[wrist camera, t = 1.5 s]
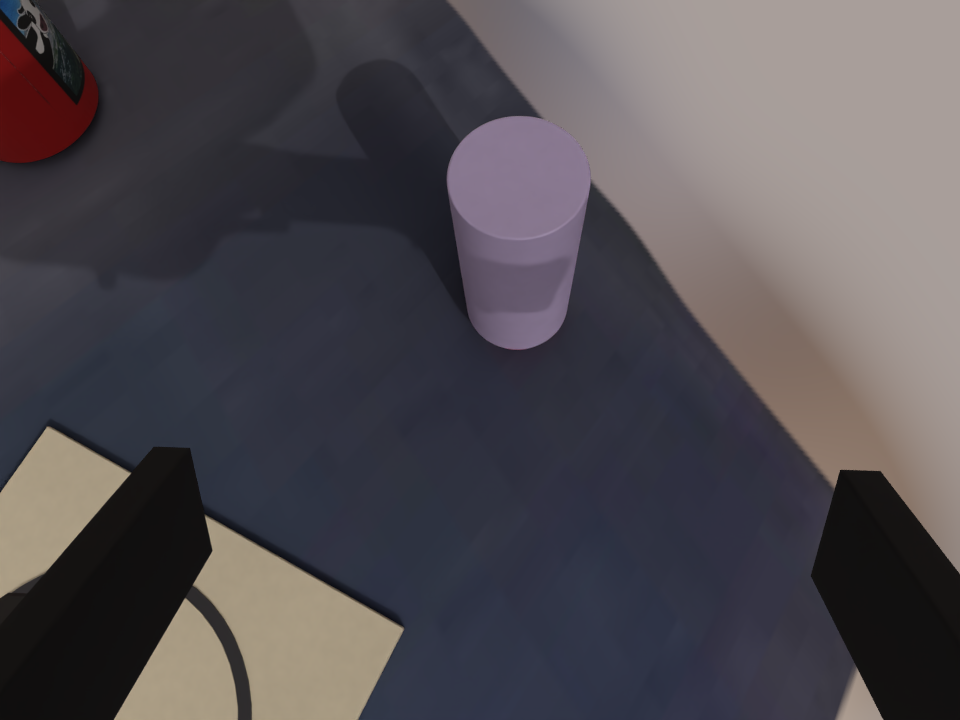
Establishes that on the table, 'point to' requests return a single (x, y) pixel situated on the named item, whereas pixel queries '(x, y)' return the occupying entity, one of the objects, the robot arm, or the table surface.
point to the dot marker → (518, 226)
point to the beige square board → (206, 608)
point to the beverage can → (40, 86)
